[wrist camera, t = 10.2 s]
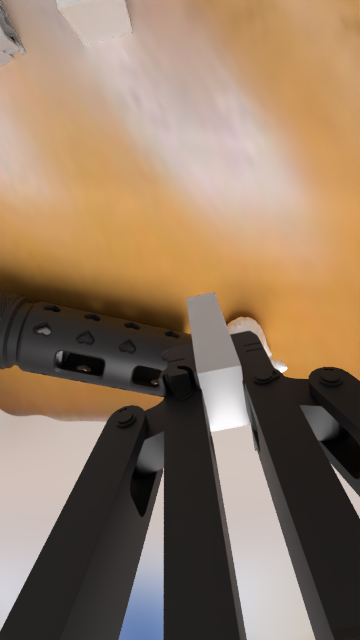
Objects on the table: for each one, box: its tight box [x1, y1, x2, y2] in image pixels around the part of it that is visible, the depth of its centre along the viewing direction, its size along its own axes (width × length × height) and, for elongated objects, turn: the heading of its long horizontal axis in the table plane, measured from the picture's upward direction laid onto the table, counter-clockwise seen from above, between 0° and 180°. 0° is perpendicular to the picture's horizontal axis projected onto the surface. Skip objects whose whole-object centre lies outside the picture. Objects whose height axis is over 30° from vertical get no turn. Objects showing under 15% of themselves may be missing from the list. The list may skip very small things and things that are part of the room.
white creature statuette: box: [227, 317, 287, 372], centre depth 43 cm, size 10×9×12 cm
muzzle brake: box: [0, 290, 192, 397], centre depth 42 cm, size 10×28×10 cm, turn 75°
